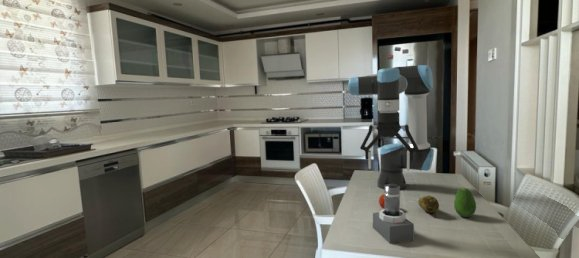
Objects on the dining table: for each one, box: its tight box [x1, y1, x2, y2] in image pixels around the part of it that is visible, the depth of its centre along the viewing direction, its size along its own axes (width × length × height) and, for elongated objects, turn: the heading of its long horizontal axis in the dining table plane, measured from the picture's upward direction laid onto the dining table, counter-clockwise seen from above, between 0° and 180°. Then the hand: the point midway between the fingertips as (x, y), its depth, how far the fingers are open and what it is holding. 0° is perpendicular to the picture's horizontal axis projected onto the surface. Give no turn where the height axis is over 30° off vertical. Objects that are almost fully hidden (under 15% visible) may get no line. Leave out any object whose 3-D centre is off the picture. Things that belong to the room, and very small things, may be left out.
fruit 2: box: [453, 187, 477, 218], centre depth 128 cm, size 8×8×12 cm
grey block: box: [372, 208, 415, 244], centre depth 115 cm, size 13×9×8 cm
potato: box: [418, 195, 440, 213], centre depth 135 cm, size 8×13×8 cm, turn 155°
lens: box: [383, 184, 401, 217], centre depth 114 cm, size 5×5×12 cm
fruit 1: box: [378, 193, 385, 209], centre depth 140 cm, size 7×7×8 cm
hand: (388, 168), depth 117 cm, fingers open, 13 cm apart
